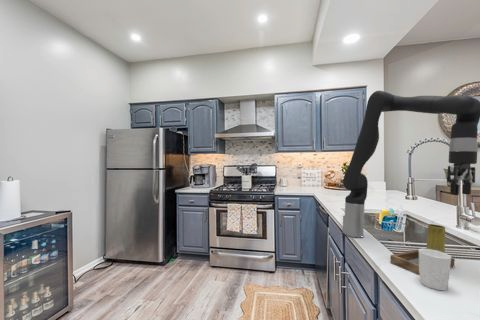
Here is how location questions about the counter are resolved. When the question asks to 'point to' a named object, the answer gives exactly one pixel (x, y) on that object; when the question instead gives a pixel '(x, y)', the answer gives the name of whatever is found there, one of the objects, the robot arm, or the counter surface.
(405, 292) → the counter surface
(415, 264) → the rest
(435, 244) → the vase
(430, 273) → the white cup
